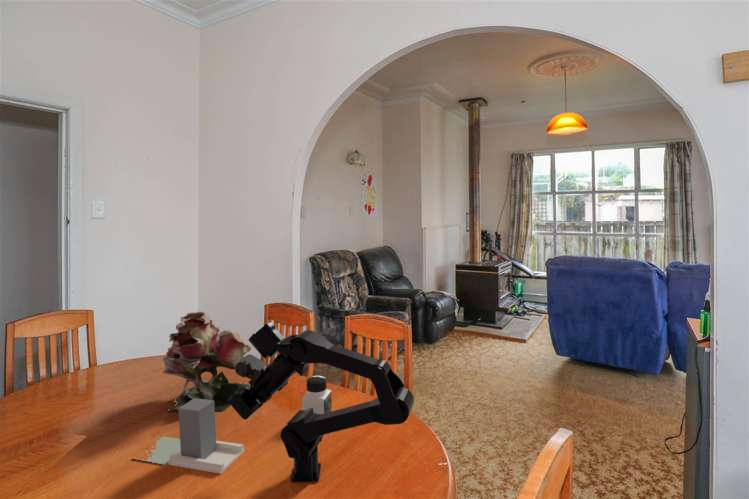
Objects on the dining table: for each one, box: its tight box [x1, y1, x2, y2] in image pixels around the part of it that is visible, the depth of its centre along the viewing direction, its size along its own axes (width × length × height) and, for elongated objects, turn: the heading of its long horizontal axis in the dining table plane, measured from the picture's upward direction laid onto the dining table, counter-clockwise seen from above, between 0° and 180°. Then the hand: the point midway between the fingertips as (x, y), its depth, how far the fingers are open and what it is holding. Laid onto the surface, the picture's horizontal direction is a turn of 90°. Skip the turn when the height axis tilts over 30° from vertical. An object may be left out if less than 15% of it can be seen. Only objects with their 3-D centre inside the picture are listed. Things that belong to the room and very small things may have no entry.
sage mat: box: [135, 436, 181, 466], centre depth 112 cm, size 10×11×1 cm
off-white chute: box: [168, 440, 245, 475], centre depth 108 cm, size 15×10×2 cm, turn 74°
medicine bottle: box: [301, 375, 333, 414], centre depth 129 cm, size 7×7×12 cm
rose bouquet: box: [161, 311, 252, 417], centre depth 142 cm, size 26×29×30 cm
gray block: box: [177, 398, 217, 459], centre depth 108 cm, size 6×6×13 cm
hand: (240, 411), depth 104 cm, fingers closed
